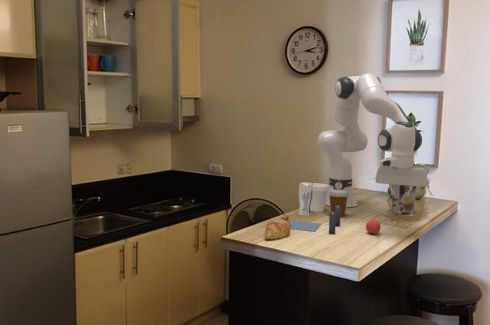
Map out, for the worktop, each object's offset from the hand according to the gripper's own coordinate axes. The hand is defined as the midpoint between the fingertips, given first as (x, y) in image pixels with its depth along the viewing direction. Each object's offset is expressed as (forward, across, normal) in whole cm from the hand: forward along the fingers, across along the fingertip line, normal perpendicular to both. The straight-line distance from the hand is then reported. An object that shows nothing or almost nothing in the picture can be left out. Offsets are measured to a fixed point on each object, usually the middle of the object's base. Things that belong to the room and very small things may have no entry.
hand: (400, 195), depth 210 cm
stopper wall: (+17, +49, 0) cm, 52 cm away
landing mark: (+17, +40, 0) cm, 44 cm away
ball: (+14, +10, 0) cm, 17 cm away
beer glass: (+17, +44, -22) cm, 52 cm away
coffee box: (+17, 0, -46) cm, 49 cm away
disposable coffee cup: (+17, +29, -26) cm, 43 cm away
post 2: (+17, +26, -6) cm, 32 cm away
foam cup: (+17, +40, -32) cm, 54 cm away
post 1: (+17, +26, +7) cm, 32 cm away
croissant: (+18, +46, +18) cm, 53 cm away
